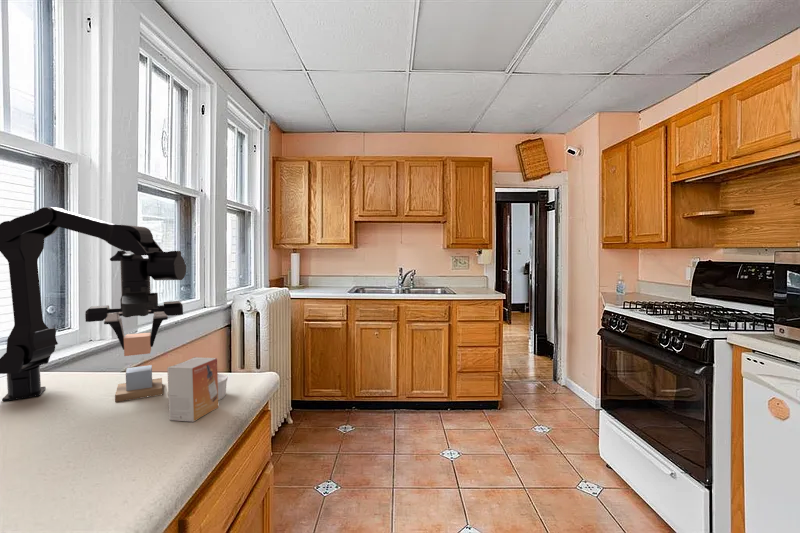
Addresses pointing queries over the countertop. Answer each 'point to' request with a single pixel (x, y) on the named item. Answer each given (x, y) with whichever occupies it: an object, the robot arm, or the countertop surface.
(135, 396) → the base plate
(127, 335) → the terracotta brick
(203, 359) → the small box
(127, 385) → the slate brick
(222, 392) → the ramekin
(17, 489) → the countertop surface
